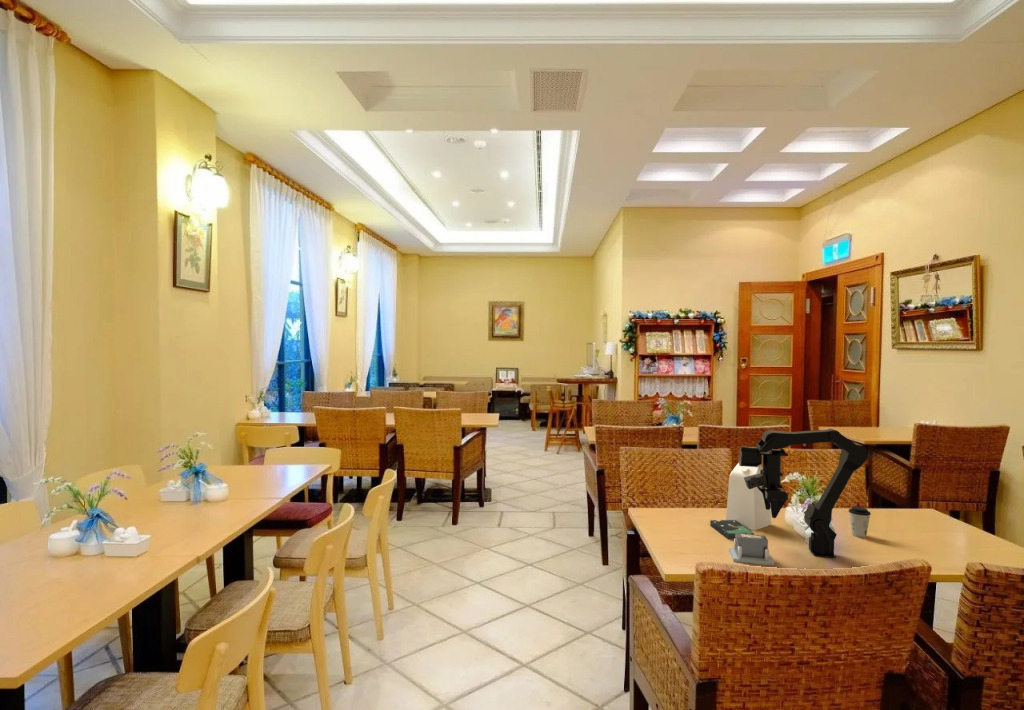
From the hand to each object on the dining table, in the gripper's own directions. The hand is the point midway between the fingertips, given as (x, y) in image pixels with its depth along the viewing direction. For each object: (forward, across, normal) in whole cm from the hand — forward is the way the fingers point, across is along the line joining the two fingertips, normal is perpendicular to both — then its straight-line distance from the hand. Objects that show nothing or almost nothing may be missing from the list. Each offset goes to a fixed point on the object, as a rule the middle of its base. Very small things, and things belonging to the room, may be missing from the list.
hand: (770, 513), depth 182 cm
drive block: (+11, +10, -8) cm, 17 cm away
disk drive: (+13, -14, -10) cm, 22 cm away
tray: (+12, +10, -8) cm, 18 cm away
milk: (+12, -27, -2) cm, 30 cm away
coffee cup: (+12, -23, +35) cm, 44 cm away
